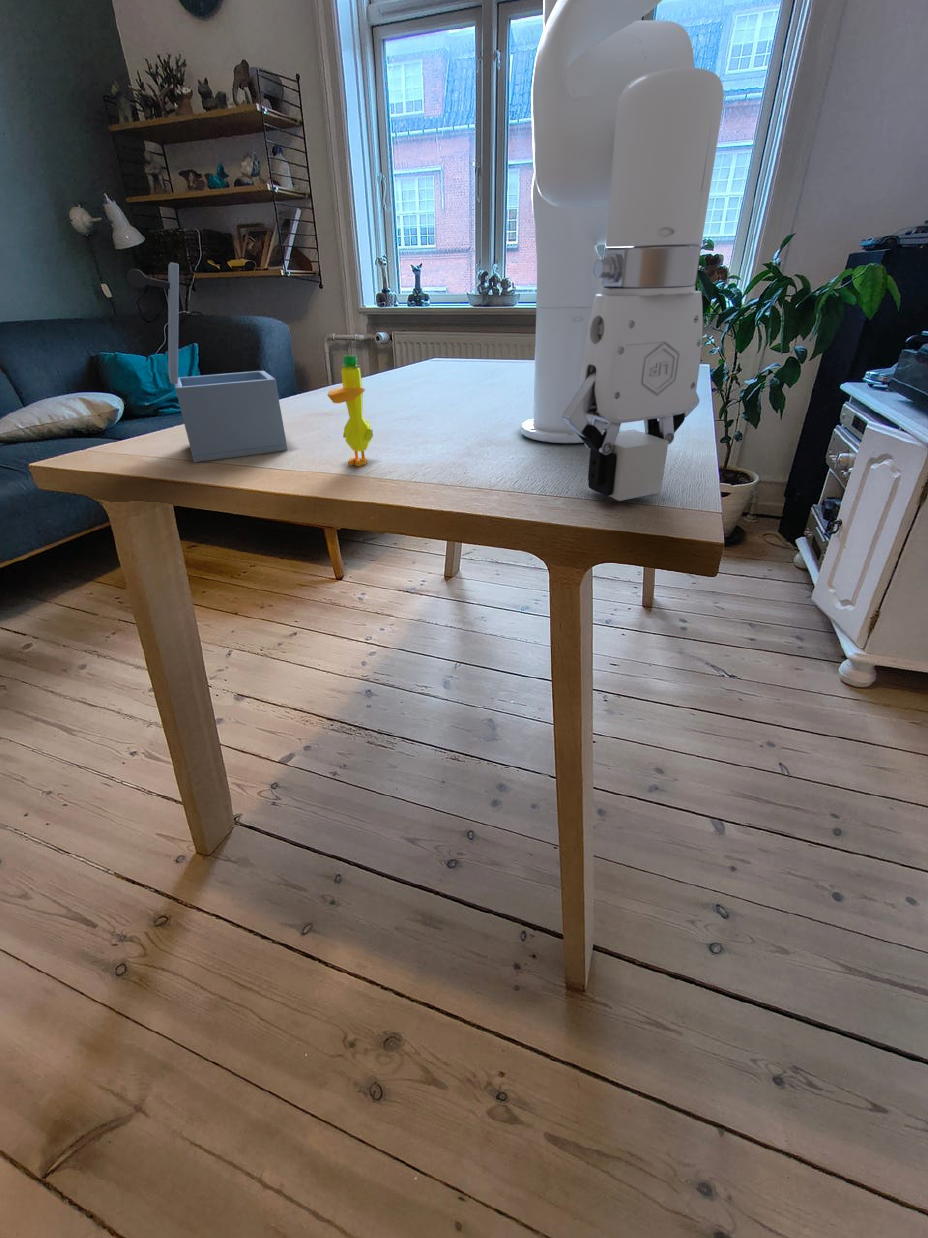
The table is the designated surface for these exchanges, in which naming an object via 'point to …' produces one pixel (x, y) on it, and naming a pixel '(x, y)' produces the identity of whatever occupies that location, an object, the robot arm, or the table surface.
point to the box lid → (139, 281)
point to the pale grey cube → (638, 464)
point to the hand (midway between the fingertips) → (624, 484)
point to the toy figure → (353, 409)
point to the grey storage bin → (231, 415)
